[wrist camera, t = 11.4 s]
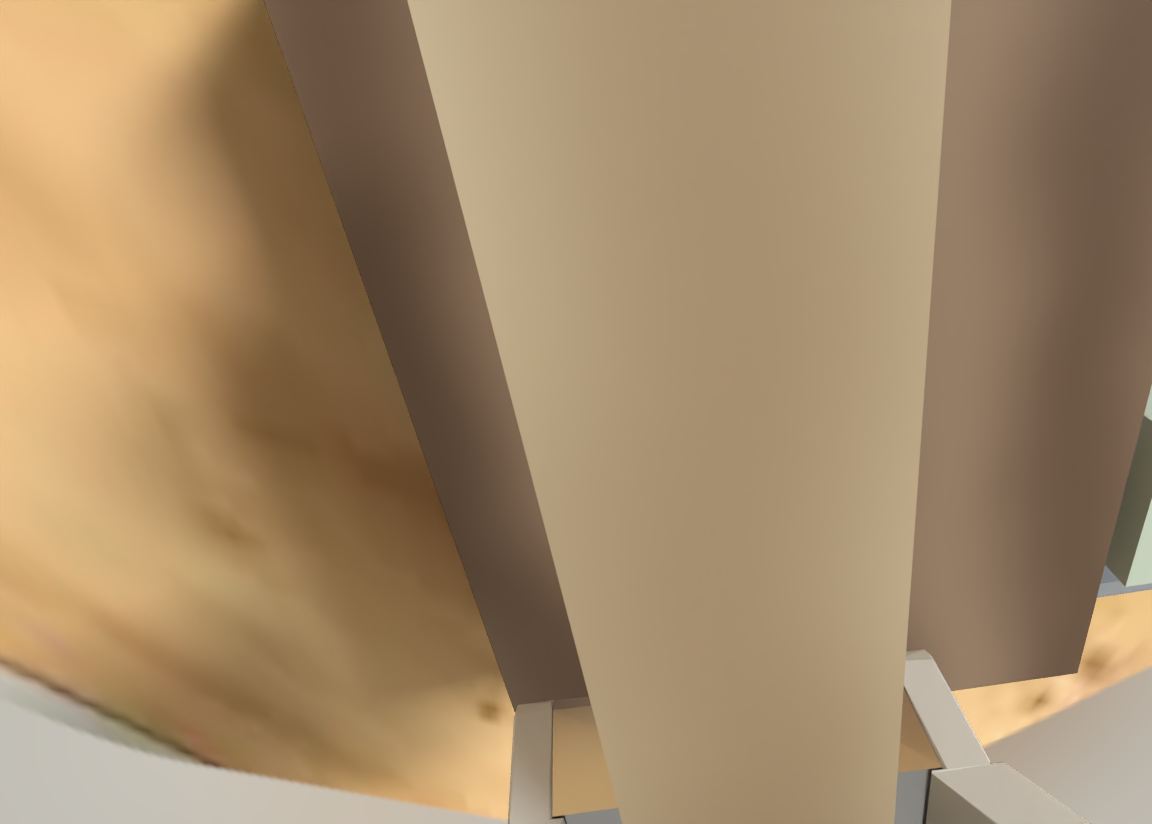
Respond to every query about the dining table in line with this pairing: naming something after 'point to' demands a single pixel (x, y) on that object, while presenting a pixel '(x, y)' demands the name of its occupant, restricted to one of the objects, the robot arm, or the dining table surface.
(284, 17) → the walnut platform
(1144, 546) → the sage tile
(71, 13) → the dining table surface
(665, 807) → the bar
